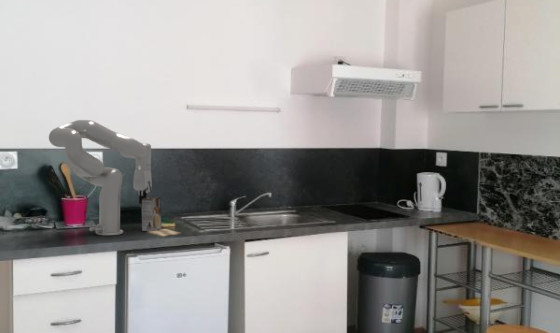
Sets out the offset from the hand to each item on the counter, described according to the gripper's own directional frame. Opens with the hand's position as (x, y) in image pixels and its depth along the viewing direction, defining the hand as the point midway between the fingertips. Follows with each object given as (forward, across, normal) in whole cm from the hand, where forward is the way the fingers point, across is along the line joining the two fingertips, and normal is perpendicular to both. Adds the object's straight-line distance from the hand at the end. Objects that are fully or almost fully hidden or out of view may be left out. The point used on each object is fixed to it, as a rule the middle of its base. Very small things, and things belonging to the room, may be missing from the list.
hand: (142, 203), depth 270 cm
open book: (+13, +18, 0) cm, 22 cm away
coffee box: (+12, +8, 0) cm, 15 cm away
